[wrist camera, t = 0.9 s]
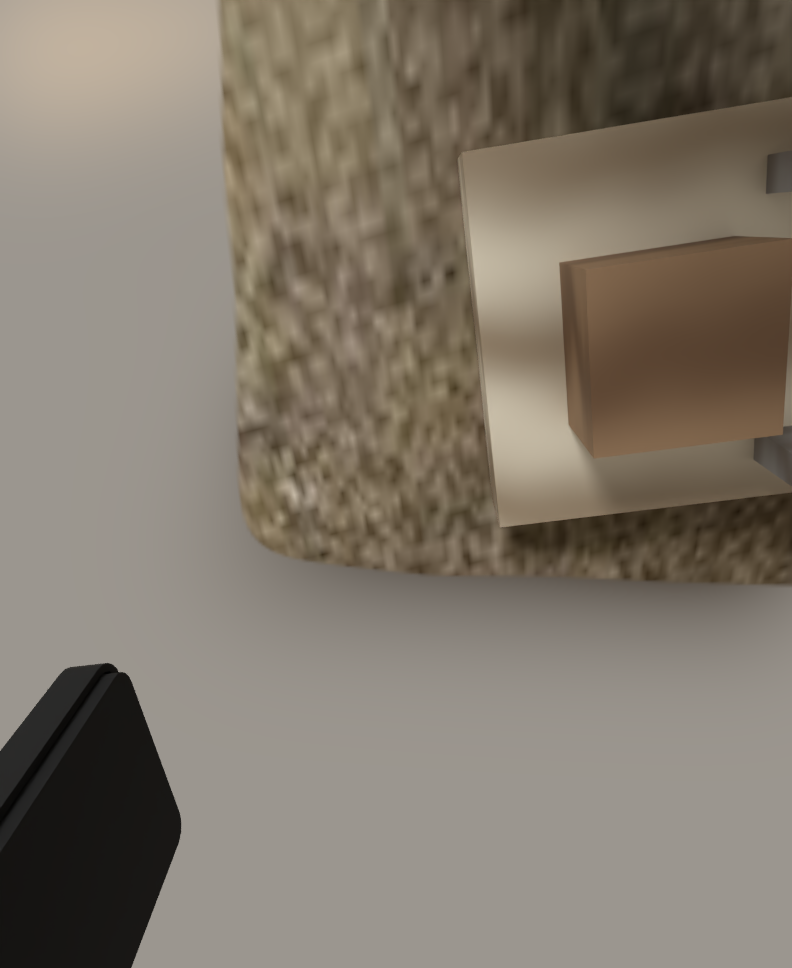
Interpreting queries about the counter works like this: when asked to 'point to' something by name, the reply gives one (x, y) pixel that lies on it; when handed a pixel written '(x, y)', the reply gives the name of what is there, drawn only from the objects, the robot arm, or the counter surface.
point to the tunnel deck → (598, 232)
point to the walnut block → (677, 344)
